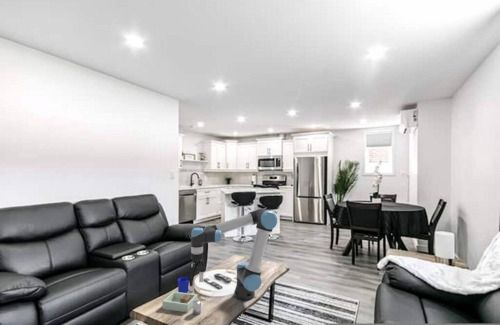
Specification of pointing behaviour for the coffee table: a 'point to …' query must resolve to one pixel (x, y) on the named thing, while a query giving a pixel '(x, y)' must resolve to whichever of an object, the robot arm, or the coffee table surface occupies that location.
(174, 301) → the tote
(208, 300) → the coffee table surface
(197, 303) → the canister
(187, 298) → the walnut block
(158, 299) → the coffee table surface
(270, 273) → the coffee table surface
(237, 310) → the coffee table surface
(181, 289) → the mug
